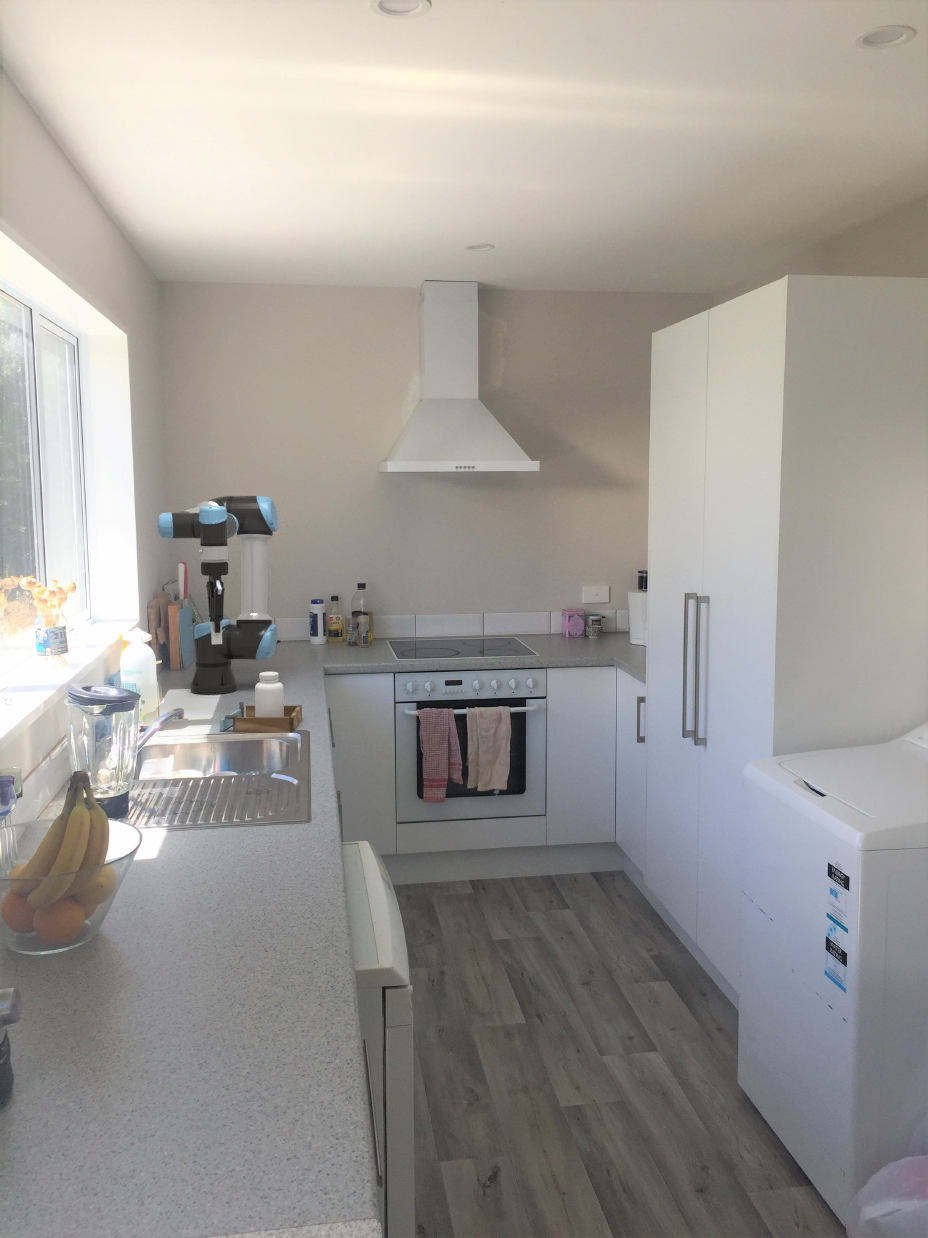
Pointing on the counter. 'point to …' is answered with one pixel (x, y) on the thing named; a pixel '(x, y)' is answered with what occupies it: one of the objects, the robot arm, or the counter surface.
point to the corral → (266, 720)
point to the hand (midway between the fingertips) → (216, 643)
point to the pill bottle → (269, 696)
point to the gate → (229, 720)
